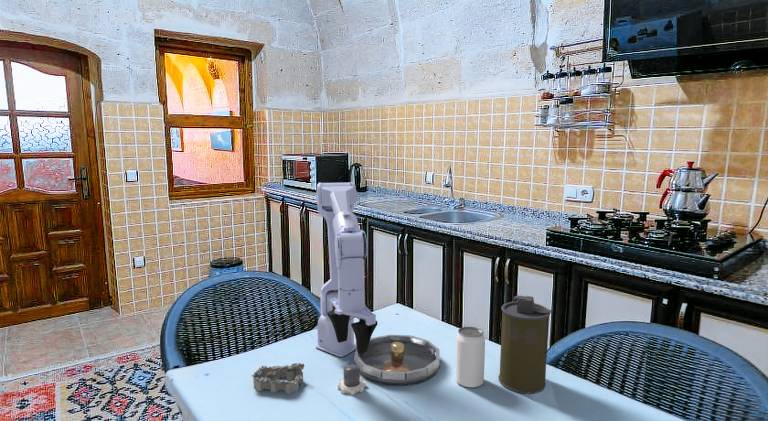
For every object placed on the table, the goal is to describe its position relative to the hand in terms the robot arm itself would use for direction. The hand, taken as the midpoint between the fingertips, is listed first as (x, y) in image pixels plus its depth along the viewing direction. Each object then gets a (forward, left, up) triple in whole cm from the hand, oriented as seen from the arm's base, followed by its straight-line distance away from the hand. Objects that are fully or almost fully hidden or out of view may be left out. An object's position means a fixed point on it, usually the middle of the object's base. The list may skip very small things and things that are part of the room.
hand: (352, 346), depth 101 cm
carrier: (+2, +15, -10) cm, 18 cm away
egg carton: (-14, -9, -10) cm, 20 cm away
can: (+20, +18, -10) cm, 28 cm away
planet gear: (0, 0, -10) cm, 10 cm away
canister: (+30, +25, -10) cm, 40 cm away
